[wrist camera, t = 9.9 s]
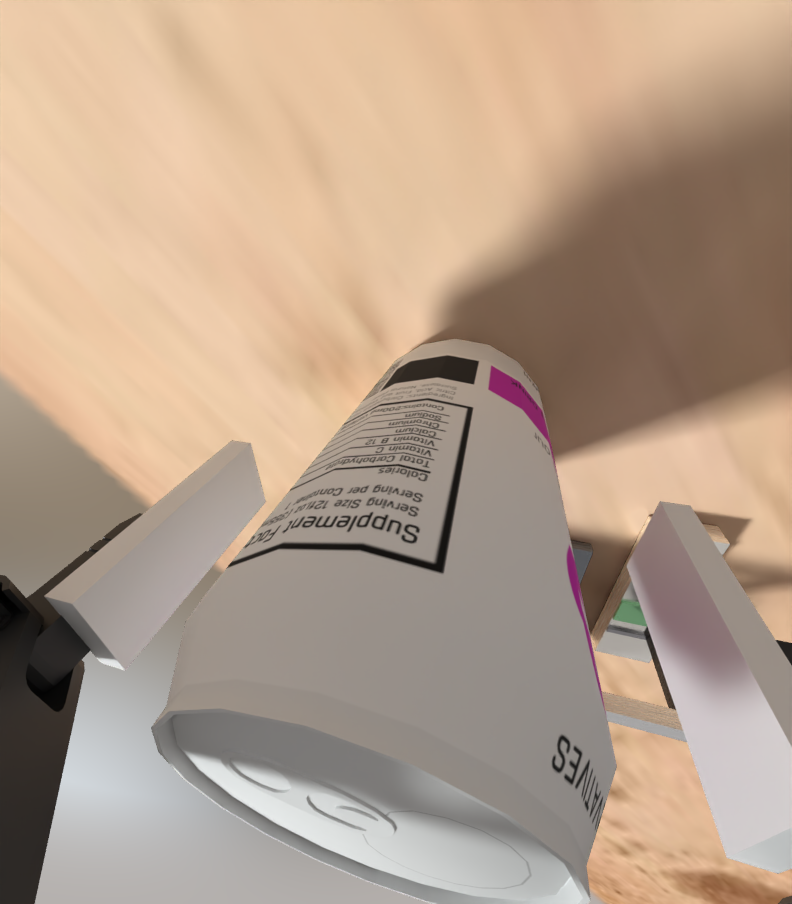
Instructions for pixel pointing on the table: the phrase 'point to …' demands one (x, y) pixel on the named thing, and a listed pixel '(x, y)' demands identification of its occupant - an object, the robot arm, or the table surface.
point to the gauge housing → (626, 605)
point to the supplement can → (409, 652)
